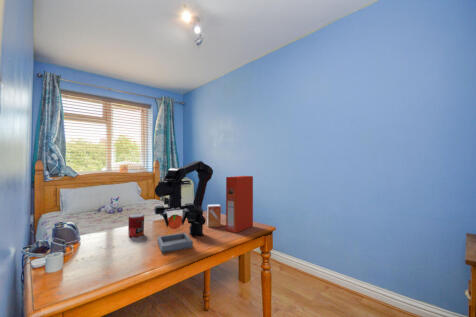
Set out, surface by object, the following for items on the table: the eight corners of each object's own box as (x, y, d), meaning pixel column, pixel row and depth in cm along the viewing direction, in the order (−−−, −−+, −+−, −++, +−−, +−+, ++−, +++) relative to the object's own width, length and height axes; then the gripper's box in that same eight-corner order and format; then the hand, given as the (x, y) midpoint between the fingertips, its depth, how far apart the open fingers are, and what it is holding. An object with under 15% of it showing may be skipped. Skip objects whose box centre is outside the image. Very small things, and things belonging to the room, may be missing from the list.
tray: (185, 238, 113) (185, 232, 113) (192, 247, 101) (192, 241, 101) (157, 242, 107) (157, 236, 107) (161, 253, 94) (161, 246, 94)
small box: (207, 227, 133) (208, 206, 133) (207, 224, 139) (207, 204, 139) (220, 226, 134) (221, 205, 135) (219, 223, 141) (219, 204, 141)
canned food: (137, 237, 113) (138, 217, 113) (124, 236, 114) (125, 216, 115) (146, 233, 120) (147, 213, 121) (134, 232, 122) (134, 213, 122)
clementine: (181, 231, 101) (181, 216, 101) (166, 232, 99) (166, 216, 99) (182, 226, 108) (182, 212, 108) (168, 227, 107) (168, 212, 107)
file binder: (225, 230, 126) (226, 176, 127) (242, 224, 140) (243, 175, 141) (236, 233, 121) (236, 177, 122) (252, 226, 135) (253, 176, 136)
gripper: (189, 190, 116) (189, 219, 115) (153, 193, 107) (152, 224, 107) (195, 193, 106) (195, 225, 106) (155, 196, 97) (155, 230, 97)
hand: (175, 226), depth 104 cm, fingers closed on clementine, 7 cm apart
